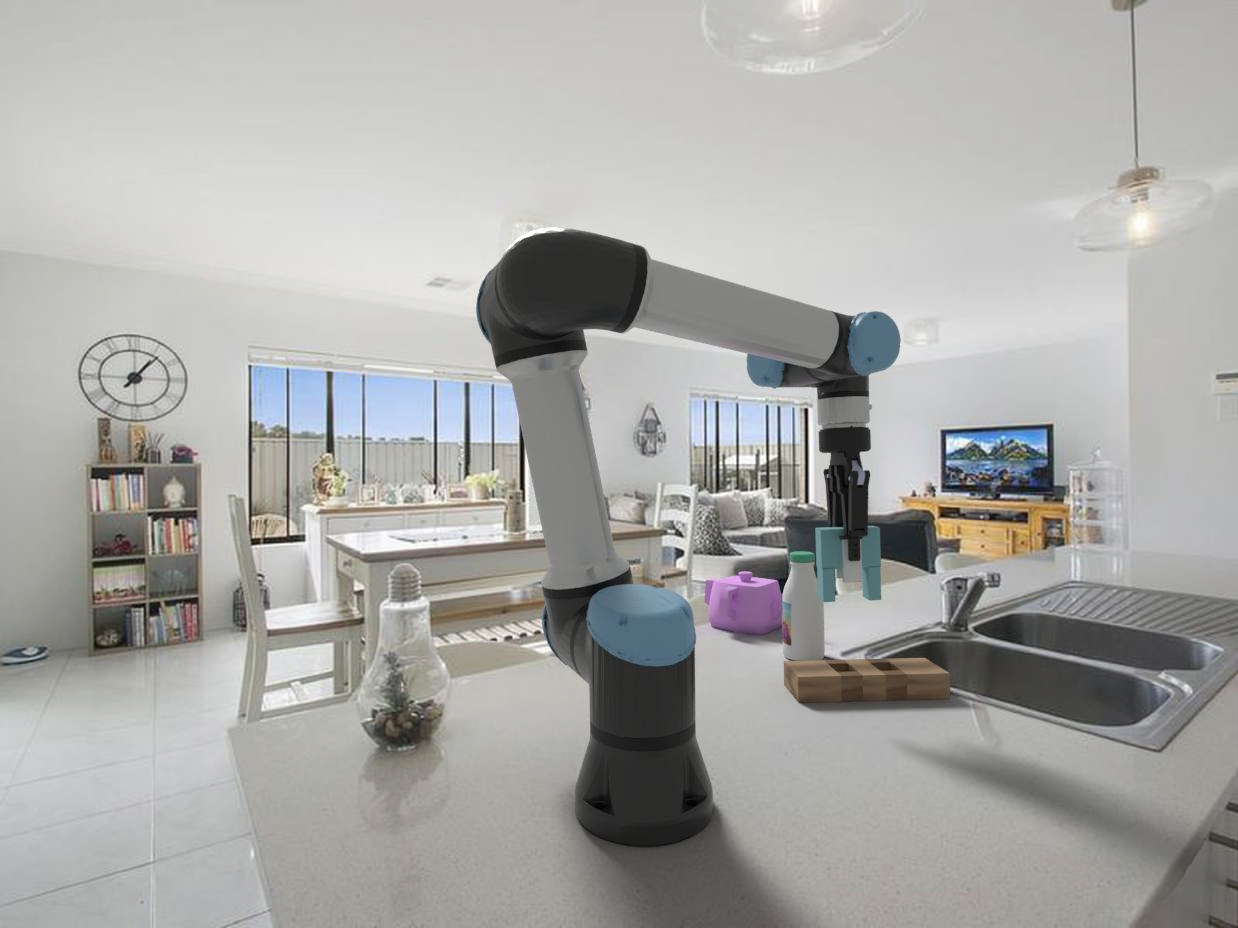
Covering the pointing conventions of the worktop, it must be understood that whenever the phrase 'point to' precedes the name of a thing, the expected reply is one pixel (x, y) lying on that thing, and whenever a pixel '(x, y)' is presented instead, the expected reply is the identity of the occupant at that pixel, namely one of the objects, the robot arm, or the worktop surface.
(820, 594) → the clip
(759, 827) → the worktop surface
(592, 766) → the robot arm
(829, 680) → the wooden slotted block
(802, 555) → the milk bottle
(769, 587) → the teakettle
